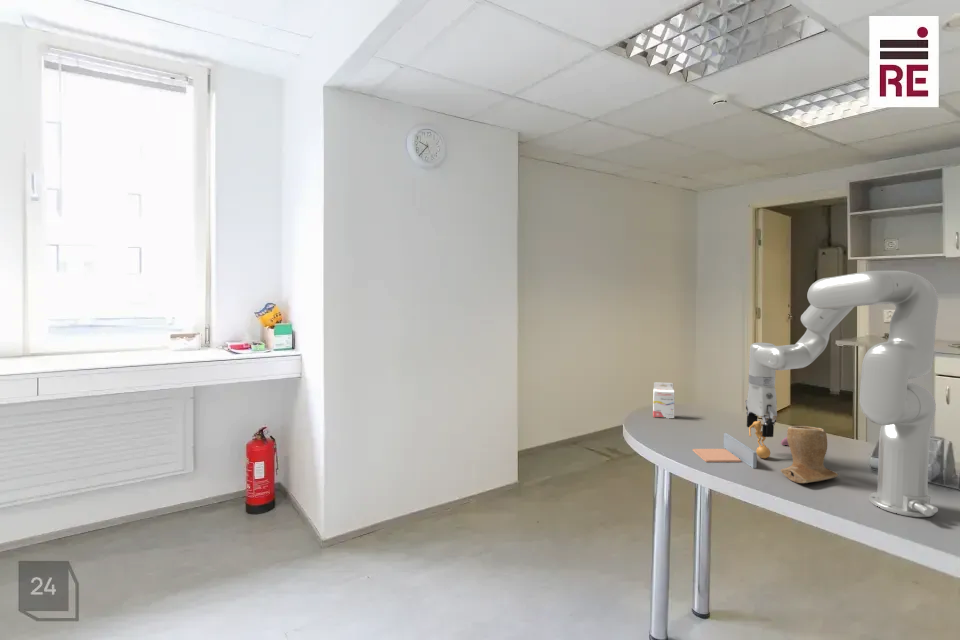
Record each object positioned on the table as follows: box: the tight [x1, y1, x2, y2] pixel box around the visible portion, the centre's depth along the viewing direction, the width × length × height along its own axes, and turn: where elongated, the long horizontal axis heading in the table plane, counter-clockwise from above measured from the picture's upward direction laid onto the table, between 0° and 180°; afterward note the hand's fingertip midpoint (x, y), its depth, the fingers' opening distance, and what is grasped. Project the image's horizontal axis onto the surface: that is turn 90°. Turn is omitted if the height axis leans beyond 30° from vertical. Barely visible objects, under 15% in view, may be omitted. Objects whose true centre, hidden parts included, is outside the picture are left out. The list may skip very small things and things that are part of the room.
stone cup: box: [780, 425, 839, 484], centre depth 142 cm, size 15×12×15 cm
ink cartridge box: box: [652, 381, 676, 419], centre depth 209 cm, size 9×5×15 cm, turn 72°
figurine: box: [748, 420, 771, 459], centre depth 159 cm, size 8×6×12 cm
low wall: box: [723, 432, 758, 469], centre depth 160 cm, size 20×1×5 cm, turn 178°
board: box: [692, 448, 742, 463], centre depth 161 cm, size 11×11×1 cm
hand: (759, 431), depth 159 cm, fingers open, 9 cm apart
